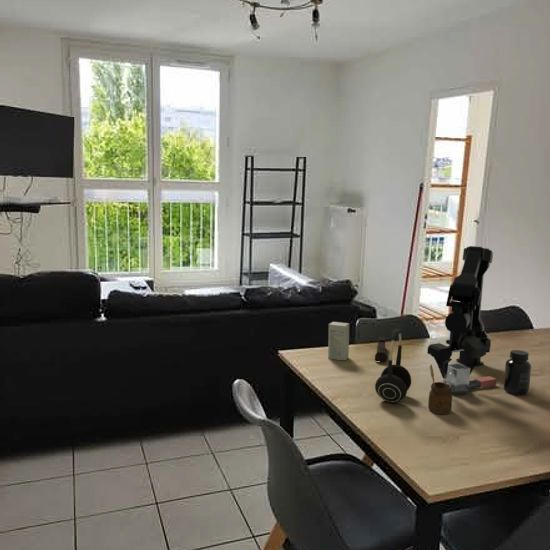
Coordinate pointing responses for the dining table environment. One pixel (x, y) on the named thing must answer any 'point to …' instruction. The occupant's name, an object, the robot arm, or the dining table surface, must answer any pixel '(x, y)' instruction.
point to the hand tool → (381, 350)
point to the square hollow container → (458, 374)
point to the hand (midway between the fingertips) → (456, 376)
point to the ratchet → (473, 385)
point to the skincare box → (338, 341)
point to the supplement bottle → (517, 373)
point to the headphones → (394, 376)
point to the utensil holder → (440, 396)
